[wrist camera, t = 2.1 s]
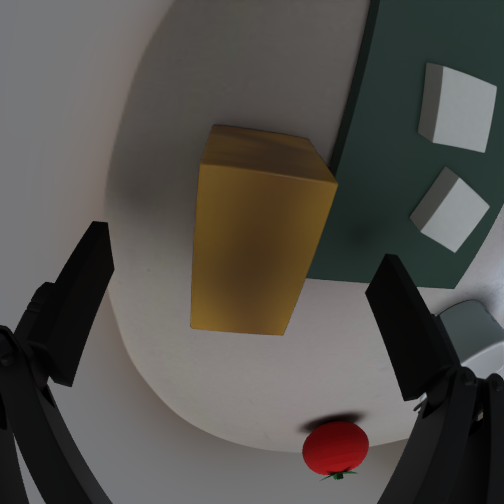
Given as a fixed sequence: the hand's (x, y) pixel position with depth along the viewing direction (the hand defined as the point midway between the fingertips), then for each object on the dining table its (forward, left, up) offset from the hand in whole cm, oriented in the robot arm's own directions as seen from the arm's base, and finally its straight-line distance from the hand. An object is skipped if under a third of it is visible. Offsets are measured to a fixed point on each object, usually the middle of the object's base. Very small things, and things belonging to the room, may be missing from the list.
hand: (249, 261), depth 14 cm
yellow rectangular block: (0, 0, -5) cm, 5 cm away
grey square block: (-9, +10, -3) cm, 14 cm away
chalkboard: (-7, +11, -5) cm, 14 cm away
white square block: (-3, +12, -3) cm, 13 cm away
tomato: (+36, +19, -5) cm, 41 cm away
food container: (+11, +24, -5) cm, 27 cm away
